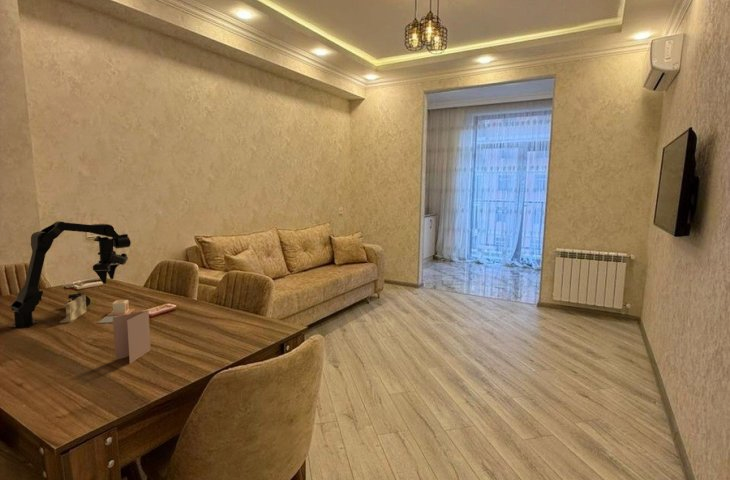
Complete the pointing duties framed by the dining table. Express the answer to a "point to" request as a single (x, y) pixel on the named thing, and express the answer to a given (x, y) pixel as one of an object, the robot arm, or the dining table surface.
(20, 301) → the robot arm
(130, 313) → the terracotta tile
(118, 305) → the marked cube
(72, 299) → the end cap
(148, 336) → the greeting card
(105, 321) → the slate tile
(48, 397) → the dining table surface
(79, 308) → the beech screen
